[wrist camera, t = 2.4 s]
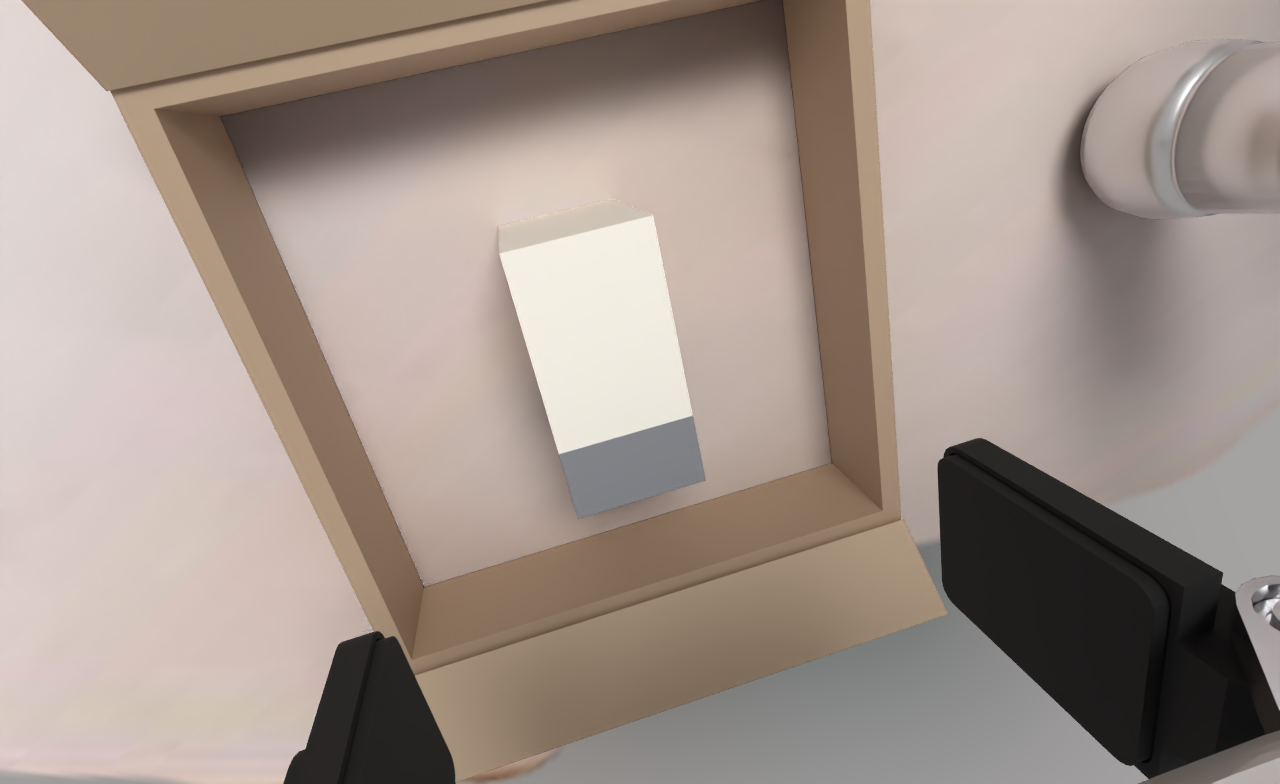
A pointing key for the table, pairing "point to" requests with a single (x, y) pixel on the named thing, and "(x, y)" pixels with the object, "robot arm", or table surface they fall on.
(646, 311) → the box
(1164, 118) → the plastic bottle
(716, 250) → the table surface
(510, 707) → the carton
